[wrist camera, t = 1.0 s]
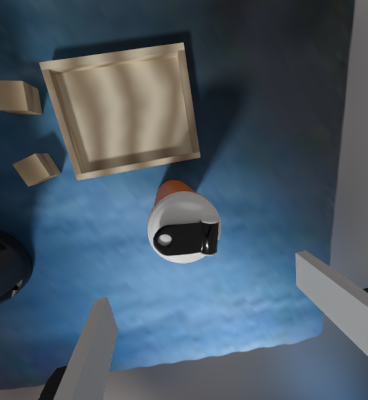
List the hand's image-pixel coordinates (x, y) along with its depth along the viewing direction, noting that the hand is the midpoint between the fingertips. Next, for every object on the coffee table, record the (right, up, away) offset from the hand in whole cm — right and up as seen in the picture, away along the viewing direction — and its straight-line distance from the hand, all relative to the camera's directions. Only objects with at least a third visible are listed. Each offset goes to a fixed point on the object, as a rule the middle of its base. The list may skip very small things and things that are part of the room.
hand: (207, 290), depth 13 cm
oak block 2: (-27, +12, +22) cm, 37 cm away
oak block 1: (-28, +23, +20) cm, 41 cm away
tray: (-11, +21, +22) cm, 32 cm away
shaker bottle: (-4, +7, +27) cm, 28 cm away
